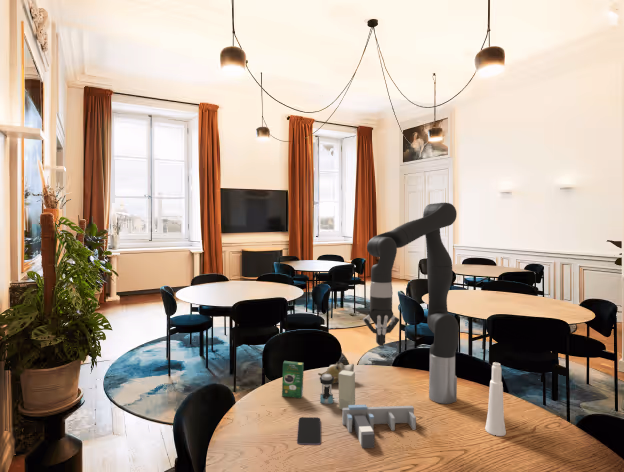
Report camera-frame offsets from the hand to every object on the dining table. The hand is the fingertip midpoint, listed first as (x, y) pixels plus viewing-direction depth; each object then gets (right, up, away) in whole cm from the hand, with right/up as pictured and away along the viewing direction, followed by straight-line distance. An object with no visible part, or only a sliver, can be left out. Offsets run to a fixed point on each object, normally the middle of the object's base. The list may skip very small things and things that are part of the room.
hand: (380, 344), depth 128 cm
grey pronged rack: (-1, -25, -6) cm, 26 cm away
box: (-11, -25, +6) cm, 28 cm away
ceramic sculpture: (-13, -25, +30) cm, 41 cm away
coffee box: (-31, -25, +15) cm, 42 cm away
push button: (-18, -25, +11) cm, 32 cm away
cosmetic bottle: (+36, -26, -8) cm, 45 cm away
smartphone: (-24, -25, -10) cm, 36 cm away
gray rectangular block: (-8, -25, -13) cm, 29 cm away
